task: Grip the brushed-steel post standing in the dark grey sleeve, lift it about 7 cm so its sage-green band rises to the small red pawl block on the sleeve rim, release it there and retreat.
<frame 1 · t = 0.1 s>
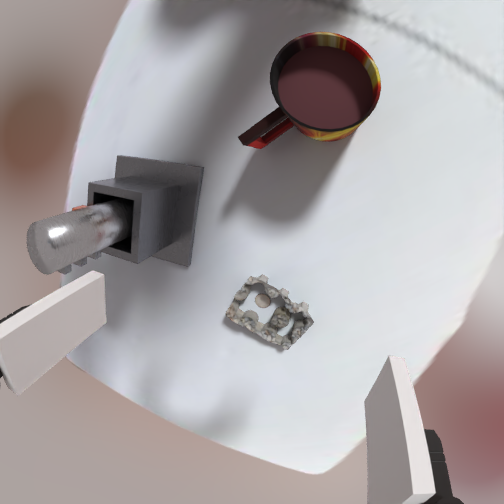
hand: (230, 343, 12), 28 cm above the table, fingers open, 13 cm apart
mug: (317, 118, 34), on the table
column: (104, 226, 32), point 11 cm above the table, slide at 0.0 cm
stand: (153, 207, 43), on the table
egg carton: (273, 305, 43), on the table
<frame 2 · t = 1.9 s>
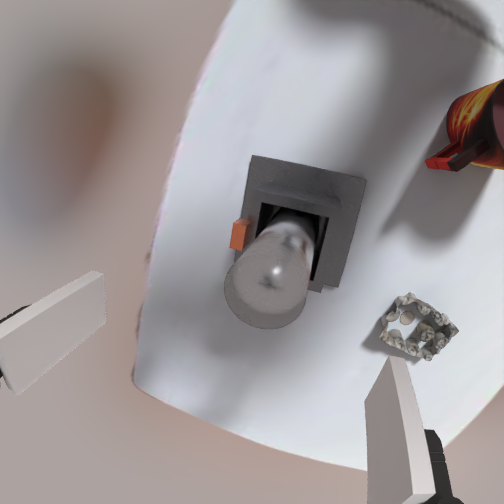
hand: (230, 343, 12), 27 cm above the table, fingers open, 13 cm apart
mug: (470, 142, 29), on the table
column: (286, 248, 27), point 11 cm above the table, slide at 0.0 cm
stand: (298, 220, 38), on the table
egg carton: (415, 320, 38), on the table
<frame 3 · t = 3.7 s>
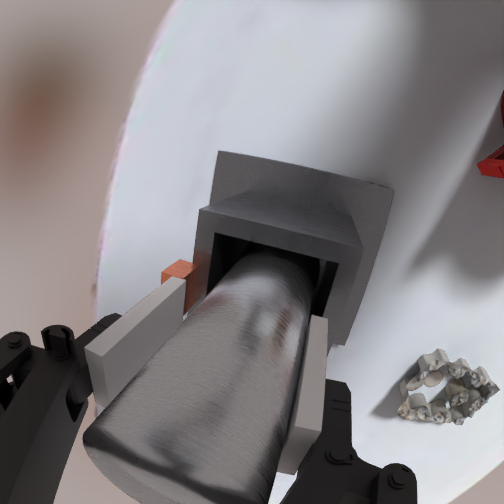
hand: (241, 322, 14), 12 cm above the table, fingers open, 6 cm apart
column: (256, 319, 15), point 11 cm above the table, slide at 0.0 cm, touching gripper
stand: (288, 250, 25), on the table
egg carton: (444, 378, 25), on the table
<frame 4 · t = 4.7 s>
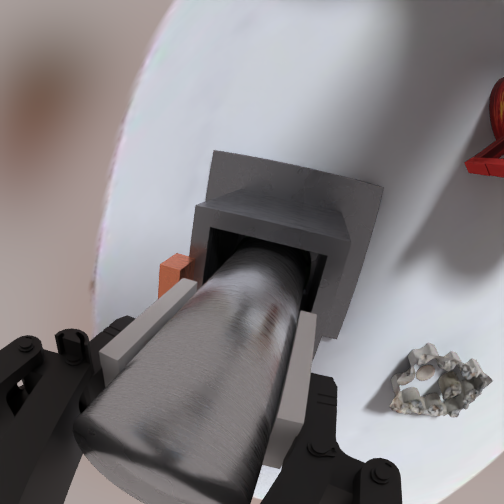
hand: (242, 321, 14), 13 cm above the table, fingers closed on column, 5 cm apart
column: (246, 315, 15), point 12 cm above the table, slide at 0.7 cm, touching gripper
stand: (281, 246, 26), on the table
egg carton: (436, 372, 27), on the table
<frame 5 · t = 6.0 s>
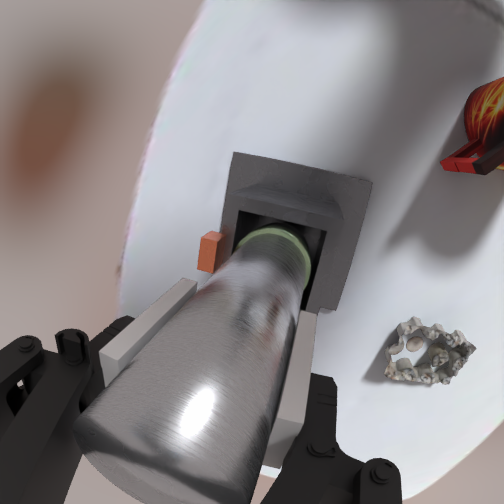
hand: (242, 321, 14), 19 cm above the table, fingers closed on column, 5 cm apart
mug: (490, 141, 23), on the table
column: (246, 315, 15), point 18 cm above the table, slide at 6.5 cm, touching gripper
stand: (289, 231, 32), on the table
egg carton: (425, 343, 32), on the table
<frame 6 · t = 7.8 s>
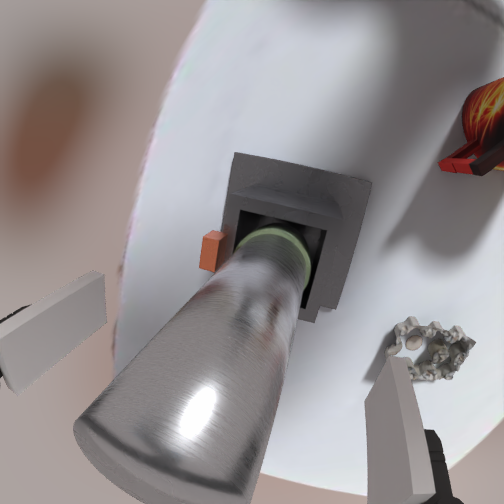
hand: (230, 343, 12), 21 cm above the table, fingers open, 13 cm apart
mug: (488, 142, 24), on the table
column: (246, 316, 15), point 18 cm above the table, slide at 6.8 cm
stand: (289, 231, 32), on the table
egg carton: (424, 341, 32), on the table
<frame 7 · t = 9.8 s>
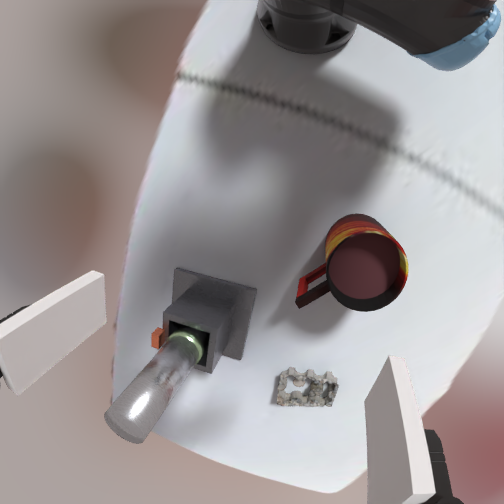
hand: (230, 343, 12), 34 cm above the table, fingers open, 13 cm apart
mug: (349, 257, 44), on the table
column: (163, 377, 35), point 18 cm above the table, slide at 6.8 cm
stand: (210, 314, 52), on the table
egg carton: (308, 381, 52), on the table
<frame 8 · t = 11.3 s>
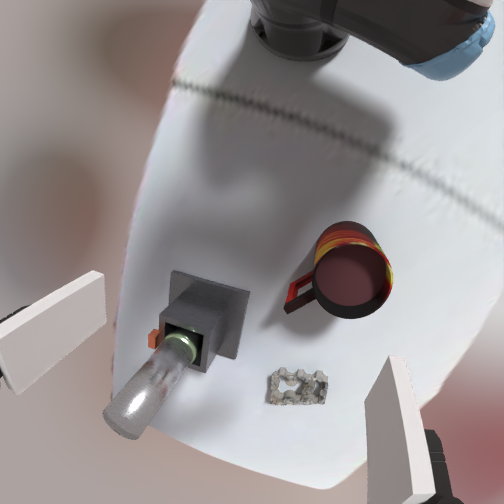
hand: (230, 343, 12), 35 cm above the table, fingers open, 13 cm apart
mug: (339, 262, 46), on the table
column: (158, 377, 37), point 18 cm above the table, slide at 6.8 cm
stand: (205, 315, 54), on the table
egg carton: (300, 380, 54), on the table
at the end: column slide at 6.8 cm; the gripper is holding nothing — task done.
